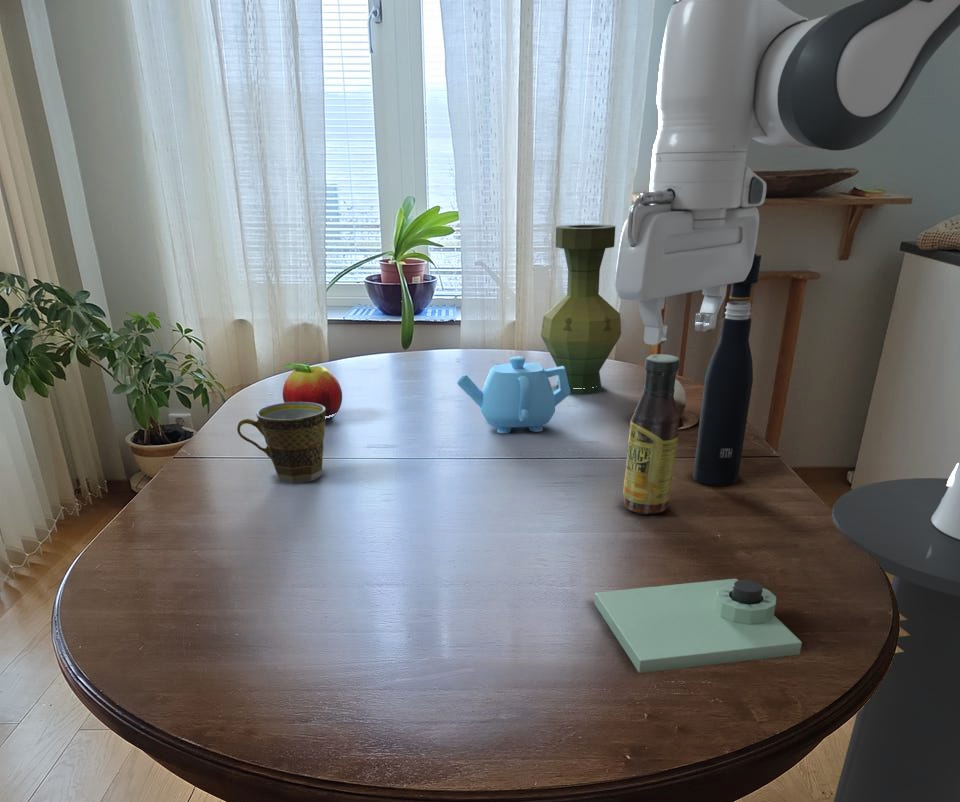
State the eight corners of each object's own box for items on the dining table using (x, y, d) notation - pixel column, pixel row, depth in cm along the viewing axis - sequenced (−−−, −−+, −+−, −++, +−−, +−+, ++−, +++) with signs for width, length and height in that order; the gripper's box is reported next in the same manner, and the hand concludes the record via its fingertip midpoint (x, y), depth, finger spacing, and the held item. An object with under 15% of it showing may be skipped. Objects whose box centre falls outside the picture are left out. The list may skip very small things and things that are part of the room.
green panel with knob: (737, 589, 89) (741, 564, 88) (803, 654, 77) (809, 627, 76) (594, 604, 87) (595, 578, 85) (639, 673, 75) (641, 645, 74)
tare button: (752, 592, 83) (754, 578, 82) (765, 604, 81) (768, 590, 80) (726, 594, 83) (728, 580, 82) (738, 607, 80) (741, 593, 79)
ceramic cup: (327, 462, 130) (319, 399, 125) (338, 482, 121) (330, 415, 116) (243, 472, 126) (232, 407, 121) (249, 493, 118) (237, 425, 113)
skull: (621, 405, 152) (662, 363, 148) (659, 442, 155) (700, 402, 151) (627, 421, 141) (672, 375, 137) (668, 460, 144) (713, 417, 140)
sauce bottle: (614, 503, 112) (624, 353, 102) (654, 497, 114) (668, 349, 104) (637, 520, 107) (650, 364, 97) (679, 513, 109) (696, 359, 98)
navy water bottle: (711, 468, 124) (740, 251, 109) (746, 479, 119) (782, 254, 104) (683, 477, 121) (709, 254, 105) (718, 489, 116) (751, 258, 101)
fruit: (322, 430, 145) (315, 372, 140) (273, 423, 149) (265, 367, 144) (355, 415, 154) (350, 360, 149) (308, 409, 158) (302, 356, 153)
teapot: (559, 411, 154) (561, 345, 148) (579, 436, 139) (582, 365, 133) (453, 416, 152) (451, 350, 146) (463, 442, 137) (461, 370, 131)
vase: (583, 375, 178) (590, 222, 163) (634, 389, 167) (647, 226, 152) (523, 387, 170) (525, 226, 155) (573, 402, 159) (580, 231, 144)
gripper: (661, 192, 71) (648, 356, 78) (775, 184, 83) (755, 327, 90) (604, 191, 75) (595, 348, 82) (721, 184, 87) (705, 321, 94)
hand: (680, 336), depth 86 cm, fingers open, 8 cm apart
